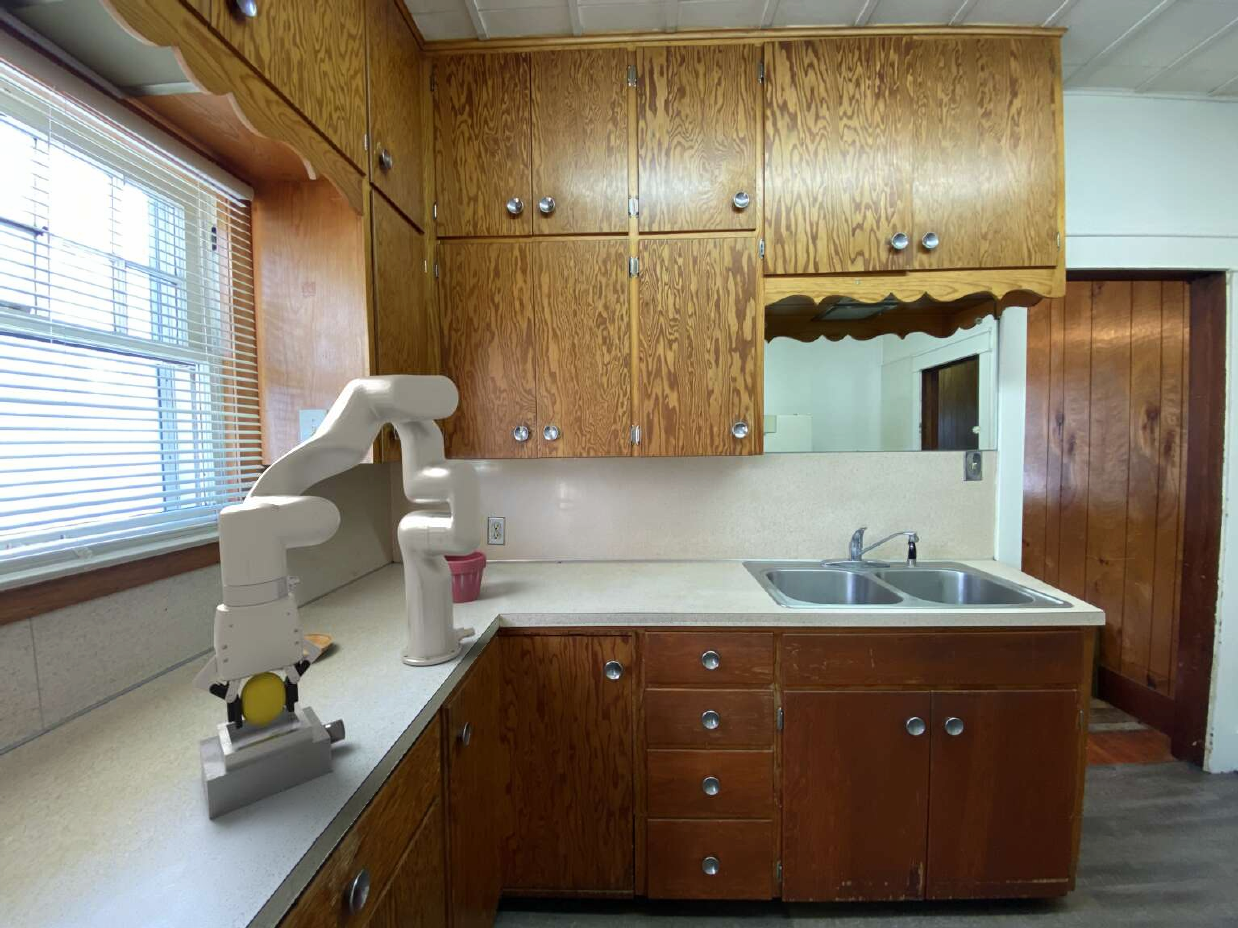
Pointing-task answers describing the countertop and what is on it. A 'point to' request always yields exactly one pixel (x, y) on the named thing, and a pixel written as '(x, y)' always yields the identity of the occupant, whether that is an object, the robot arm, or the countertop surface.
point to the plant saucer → (318, 641)
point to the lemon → (263, 698)
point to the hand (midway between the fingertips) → (264, 715)
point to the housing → (265, 758)
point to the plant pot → (466, 575)
